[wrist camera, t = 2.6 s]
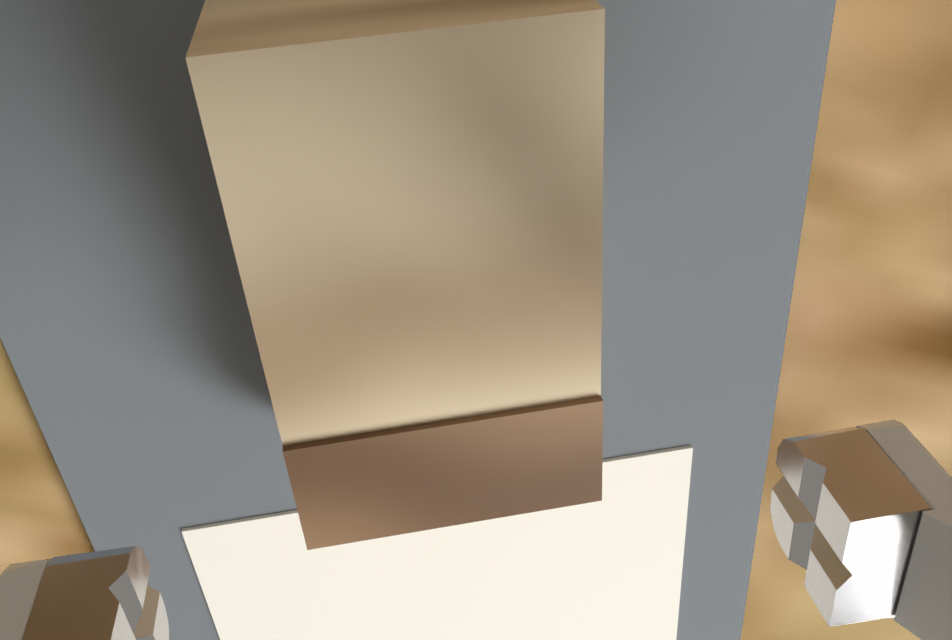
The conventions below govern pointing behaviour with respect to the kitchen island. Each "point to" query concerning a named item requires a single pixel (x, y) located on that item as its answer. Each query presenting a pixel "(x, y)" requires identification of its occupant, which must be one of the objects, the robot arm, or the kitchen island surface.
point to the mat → (243, 379)
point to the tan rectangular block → (416, 248)
